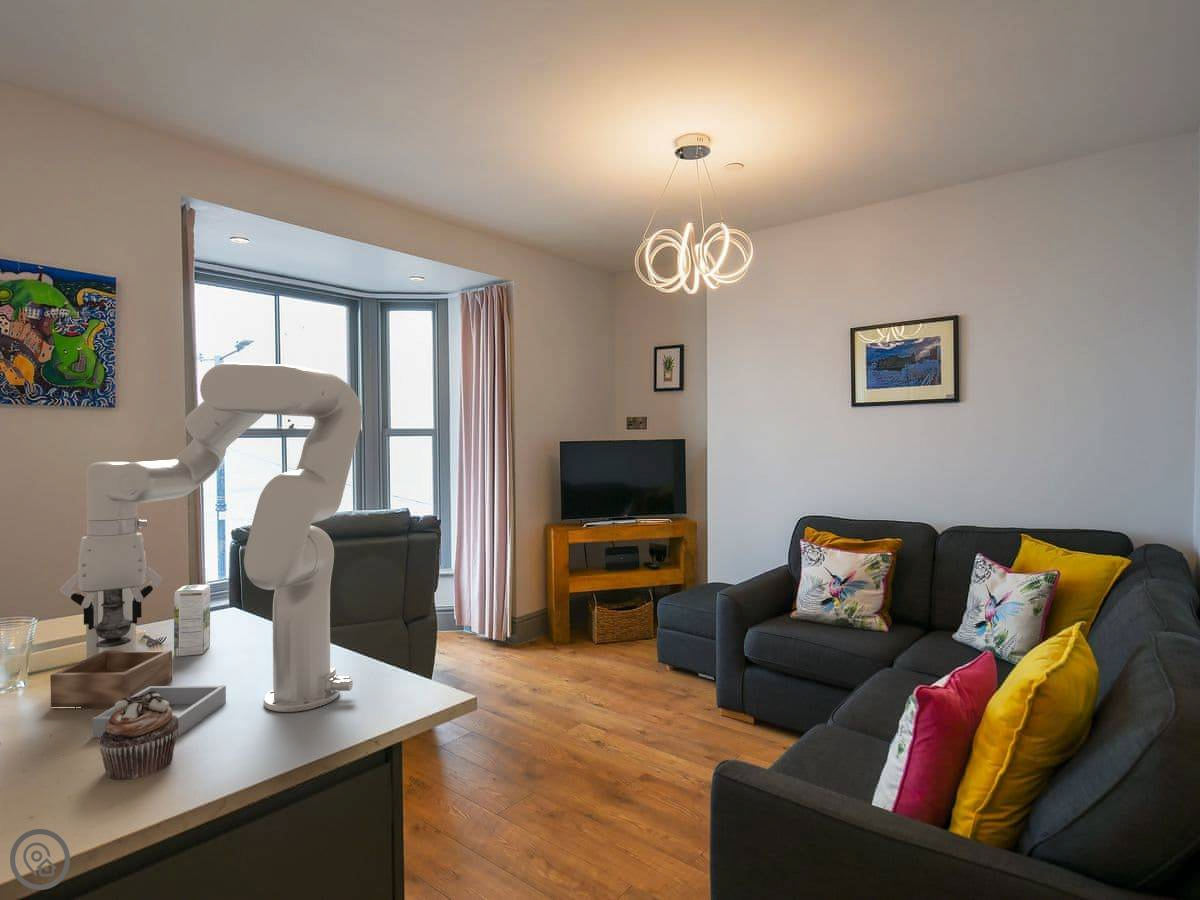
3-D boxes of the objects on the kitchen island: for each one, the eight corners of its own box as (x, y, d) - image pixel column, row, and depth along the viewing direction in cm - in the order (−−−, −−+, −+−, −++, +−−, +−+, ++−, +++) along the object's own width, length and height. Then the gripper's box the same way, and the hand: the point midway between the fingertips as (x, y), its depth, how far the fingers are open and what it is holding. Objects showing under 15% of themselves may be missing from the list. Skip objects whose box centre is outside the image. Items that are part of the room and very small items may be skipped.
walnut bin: (172, 680, 128) (172, 650, 128) (125, 708, 115) (125, 674, 115) (105, 681, 128) (105, 650, 128) (50, 708, 115) (50, 674, 115)
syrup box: (181, 649, 148) (180, 585, 147) (211, 646, 149) (210, 583, 149) (173, 657, 142) (172, 591, 142) (204, 654, 144) (203, 589, 144)
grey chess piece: (111, 649, 118) (111, 583, 118) (85, 646, 119) (84, 581, 119) (140, 639, 124) (140, 576, 124) (115, 637, 125) (114, 574, 125)
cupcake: (86, 771, 93) (85, 702, 93) (159, 744, 102) (159, 680, 102) (118, 790, 89) (117, 717, 88) (193, 759, 97) (192, 693, 97)
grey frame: (225, 702, 118) (225, 685, 118) (178, 736, 104) (178, 717, 104) (149, 702, 118) (149, 686, 118) (92, 737, 104) (92, 718, 104)
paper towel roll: (143, 671, 134) (142, 567, 133) (115, 681, 128) (113, 573, 127) (116, 668, 135) (114, 565, 135) (86, 678, 130) (85, 571, 129)
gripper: (167, 522, 129) (167, 613, 130) (53, 529, 119) (54, 627, 119) (169, 527, 123) (169, 622, 124) (50, 534, 113) (51, 638, 113)
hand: (113, 623), depth 122 cm, fingers closed on grey chess piece, 5 cm apart
